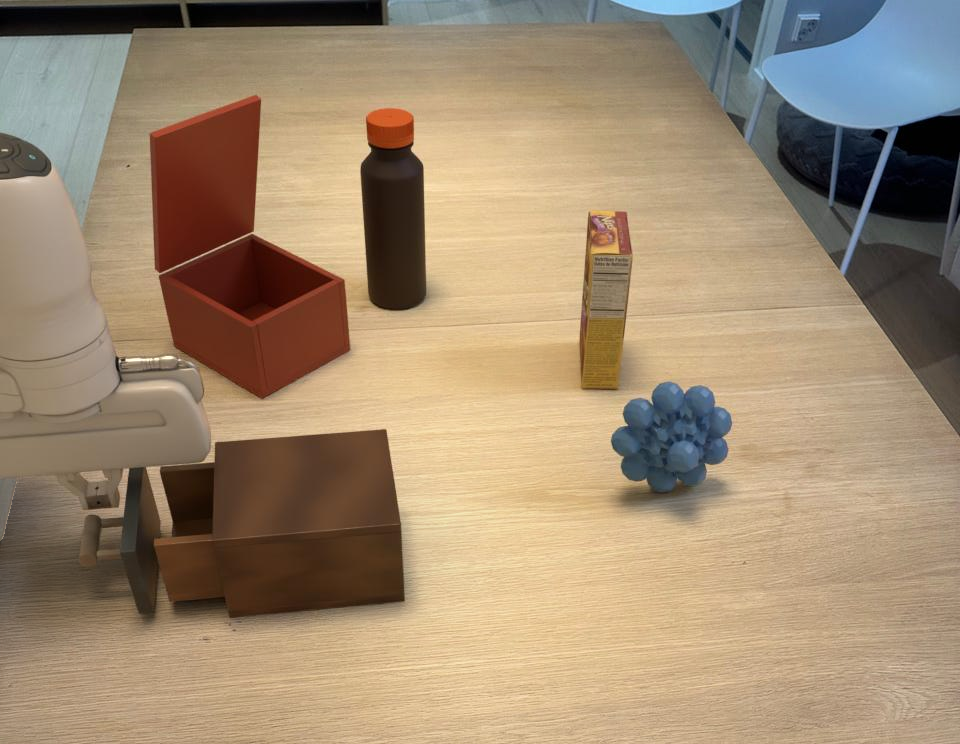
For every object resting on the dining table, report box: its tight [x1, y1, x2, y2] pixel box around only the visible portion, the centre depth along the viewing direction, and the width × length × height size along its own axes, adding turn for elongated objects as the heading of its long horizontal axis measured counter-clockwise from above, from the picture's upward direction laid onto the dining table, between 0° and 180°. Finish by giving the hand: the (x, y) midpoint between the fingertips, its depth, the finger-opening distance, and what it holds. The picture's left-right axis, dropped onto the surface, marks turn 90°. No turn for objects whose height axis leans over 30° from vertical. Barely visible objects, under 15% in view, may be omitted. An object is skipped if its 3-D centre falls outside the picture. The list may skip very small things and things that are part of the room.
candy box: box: [578, 210, 634, 390], centre depth 108 cm, size 9×4×15 cm, turn 178°
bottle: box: [359, 107, 427, 310], centre depth 116 cm, size 7×7×20 cm
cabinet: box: [212, 428, 406, 618], centre depth 89 cm, size 15×13×9 cm
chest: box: [158, 233, 351, 399], centre depth 112 cm, size 15×13×8 cm
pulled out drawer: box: [78, 461, 225, 614], centre depth 88 cm, size 18×11×7 cm, turn 99°
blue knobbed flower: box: [610, 381, 733, 494], centre depth 95 cm, size 12×7×12 cm, turn 103°
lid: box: [149, 94, 262, 274], centre depth 106 cm, size 15×13×1 cm
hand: (102, 504), depth 90 cm, fingers closed
